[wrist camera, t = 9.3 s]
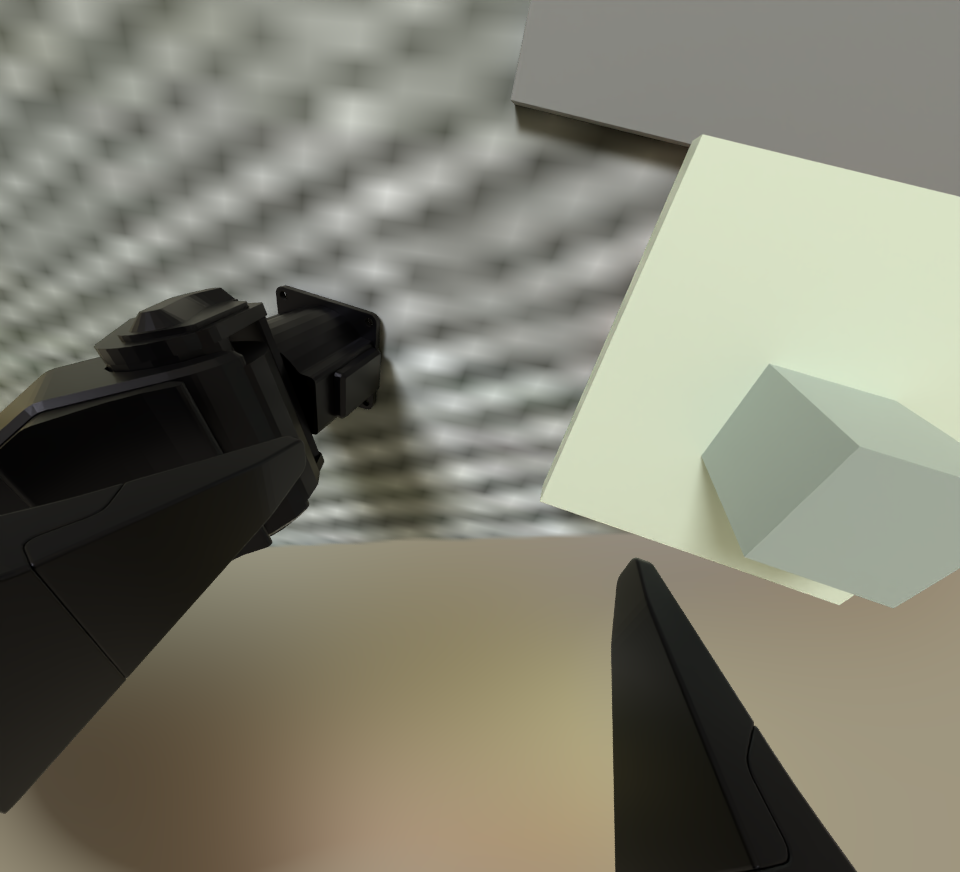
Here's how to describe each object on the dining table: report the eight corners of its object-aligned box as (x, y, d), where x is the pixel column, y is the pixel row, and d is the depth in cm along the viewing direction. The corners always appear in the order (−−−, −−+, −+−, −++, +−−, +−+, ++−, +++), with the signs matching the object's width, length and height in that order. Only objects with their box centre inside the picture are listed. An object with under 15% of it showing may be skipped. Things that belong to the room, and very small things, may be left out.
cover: (542, 485, 19) (524, 591, 14) (692, 140, 11) (783, 84, 6) (825, 582, 17) (920, 738, 12) (1239, 274, 9) (2005, 359, 4)
